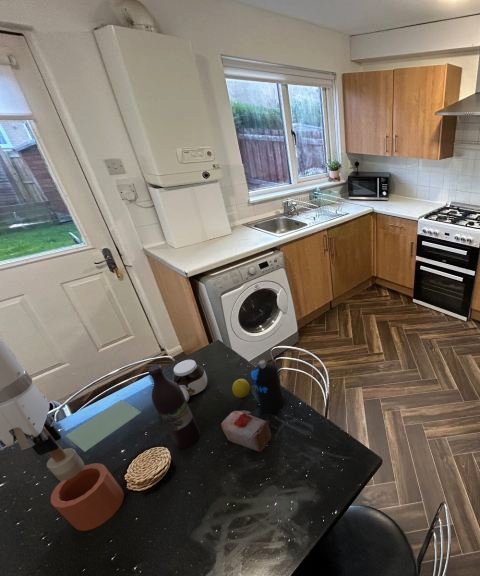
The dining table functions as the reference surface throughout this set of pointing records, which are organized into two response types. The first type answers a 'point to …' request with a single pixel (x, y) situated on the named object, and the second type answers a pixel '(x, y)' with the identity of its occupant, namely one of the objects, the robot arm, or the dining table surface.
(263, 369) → the aerosol can
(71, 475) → the brush
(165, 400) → the wine bottle
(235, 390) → the lemon
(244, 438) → the food item
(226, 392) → the dining table surface
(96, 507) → the terracotta pot
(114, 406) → the mat
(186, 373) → the spread jar
